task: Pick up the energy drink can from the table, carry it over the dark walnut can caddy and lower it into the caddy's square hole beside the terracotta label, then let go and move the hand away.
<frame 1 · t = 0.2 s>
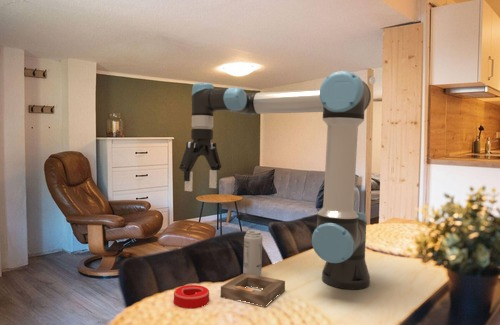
hand: (201, 189, 133), 28 cm above the table, tool pointing down, fingers open, 13 cm apart
energy drink can: (252, 277, 126), on the table
decorative ornament: (191, 302, 105), on the table
can caddy: (253, 293, 111), on the table
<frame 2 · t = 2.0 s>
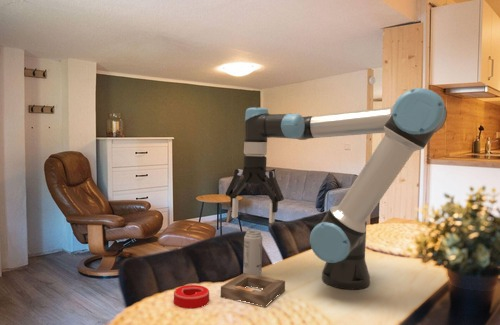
hand: (252, 219, 125), 19 cm above the table, tool pointing down, fingers open, 13 cm apart
nothing on the table moved.
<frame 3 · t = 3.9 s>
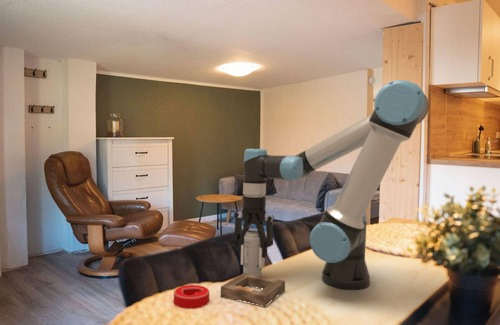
hand: (252, 265, 126), 4 cm above the table, tool pointing down, fingers closed on energy drink can, 6 cm apart
energy drink can: (252, 277, 126), on the table, touching gripper
everything else where it was.
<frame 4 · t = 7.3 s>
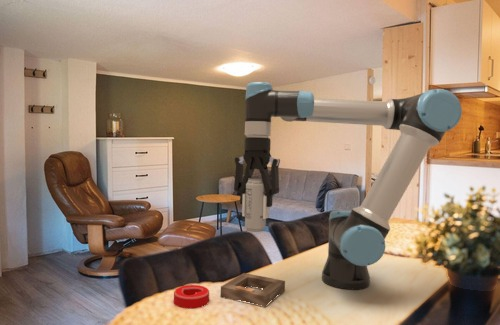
hand: (255, 216, 110), 23 cm above the table, tool pointing down, fingers closed on energy drink can, 6 cm apart
energy drink can: (255, 230, 111), point 19 cm above the table, touching gripper
everything else where it was.
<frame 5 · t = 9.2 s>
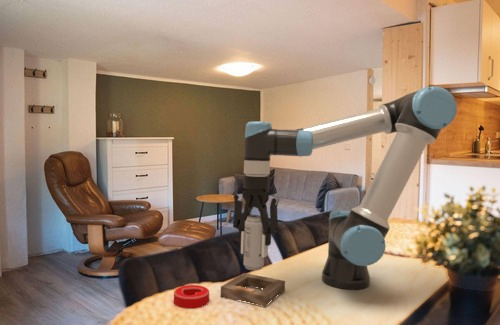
hand: (254, 254, 111), 12 cm above the table, tool pointing down, fingers closed on energy drink can, 6 cm apart
energy drink can: (253, 268, 111), point 8 cm above the table, touching gripper
everything else where it was.
when the fingers open (5 cm above the table, at t = 10.8 s): energy drink can drops 1 cm, resting in can caddy.
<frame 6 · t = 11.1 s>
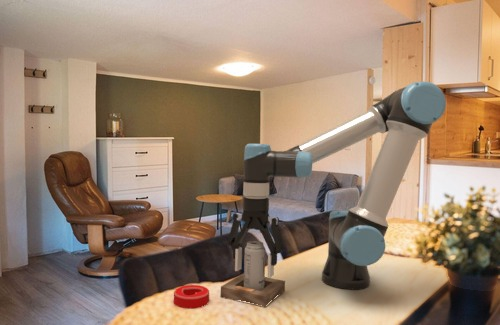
hand: (254, 272, 111), 6 cm above the table, tool pointing down, fingers open, 10 cm apart
energy drink can: (253, 294, 111), resting in can caddy
everything else where it was.
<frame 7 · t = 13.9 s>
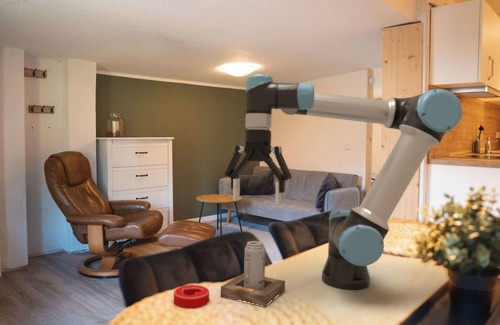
hand: (256, 202, 111), 27 cm above the table, tool pointing down, fingers open, 13 cm apart
nothing on the table moved.
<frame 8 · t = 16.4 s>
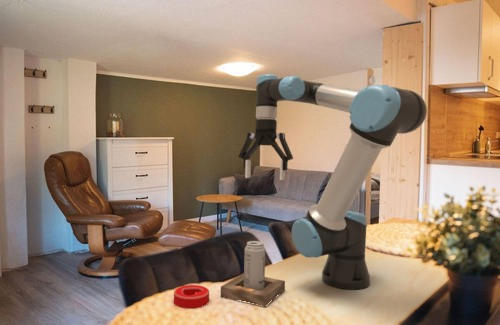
hand: (264, 178, 136), 32 cm above the table, tool pointing down, fingers open, 13 cm apart
nothing on the table moved.
at the end: energy drink can 0.1 cm off-centre on the can caddy, point 0.0 cm above the can caddy's base; energy drink can tilted 0°; the gripper is holding nothing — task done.
